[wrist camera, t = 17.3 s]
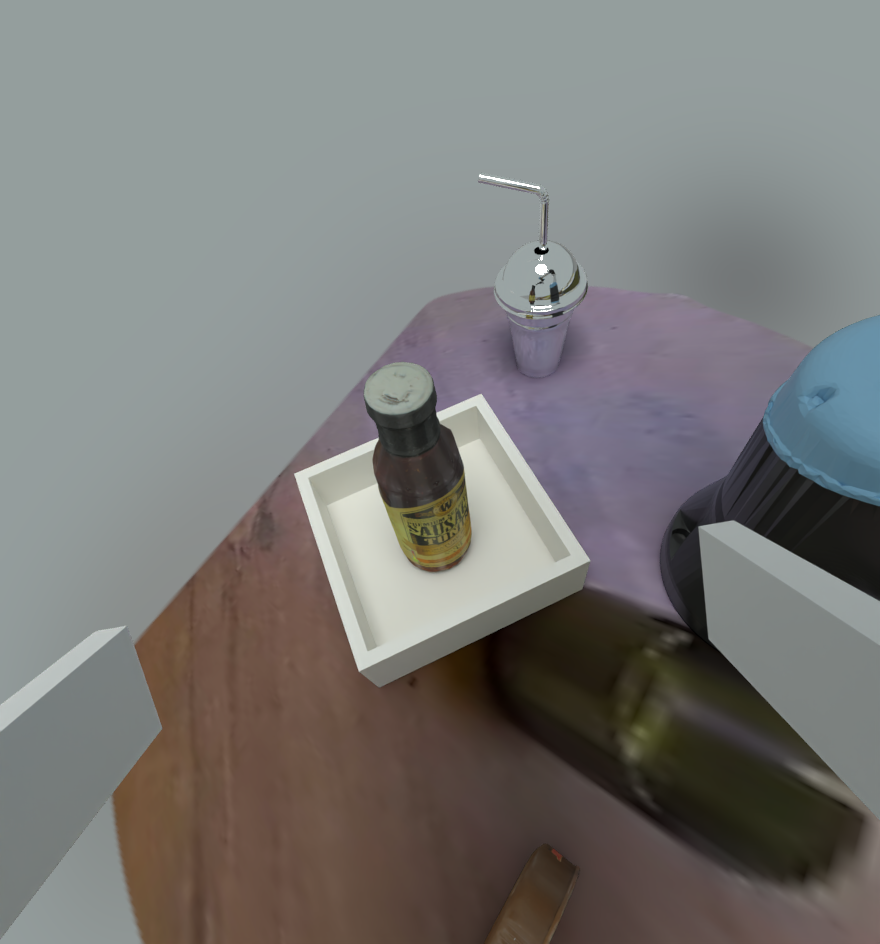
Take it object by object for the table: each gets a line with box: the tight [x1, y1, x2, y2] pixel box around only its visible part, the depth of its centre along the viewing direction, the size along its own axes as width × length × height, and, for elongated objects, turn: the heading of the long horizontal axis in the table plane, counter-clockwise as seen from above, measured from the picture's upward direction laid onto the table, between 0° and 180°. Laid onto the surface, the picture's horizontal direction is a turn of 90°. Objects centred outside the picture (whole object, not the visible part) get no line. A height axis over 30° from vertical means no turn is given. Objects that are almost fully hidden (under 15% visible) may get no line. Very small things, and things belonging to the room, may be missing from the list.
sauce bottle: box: [364, 362, 472, 572], centre depth 37 cm, size 6×6×20 cm
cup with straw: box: [478, 173, 588, 378], centre depth 48 cm, size 8×9×20 cm
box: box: [294, 394, 590, 687], centre depth 44 cm, size 18×18×6 cm
